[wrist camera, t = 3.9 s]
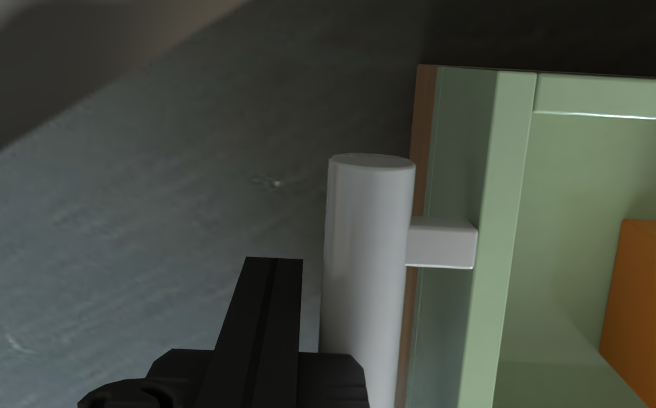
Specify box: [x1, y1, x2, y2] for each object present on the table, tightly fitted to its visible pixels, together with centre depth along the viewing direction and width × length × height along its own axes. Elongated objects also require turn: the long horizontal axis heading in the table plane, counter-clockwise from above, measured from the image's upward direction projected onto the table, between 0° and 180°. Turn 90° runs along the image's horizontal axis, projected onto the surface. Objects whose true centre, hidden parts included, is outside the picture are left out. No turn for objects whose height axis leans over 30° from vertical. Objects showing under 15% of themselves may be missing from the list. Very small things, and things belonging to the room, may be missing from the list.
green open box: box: [318, 66, 656, 408], centre depth 14 cm, size 14×11×6 cm
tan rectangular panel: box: [395, 64, 656, 408], centre depth 19 cm, size 11×11×4 cm
